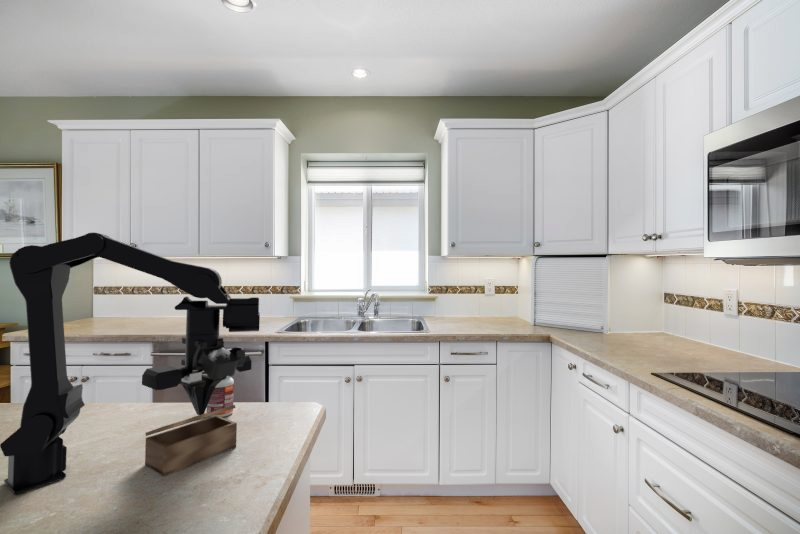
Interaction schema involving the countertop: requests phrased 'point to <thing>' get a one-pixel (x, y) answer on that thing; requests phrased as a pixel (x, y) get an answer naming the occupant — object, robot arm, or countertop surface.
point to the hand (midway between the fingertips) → (200, 414)
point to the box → (189, 444)
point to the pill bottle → (222, 397)
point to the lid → (189, 420)
